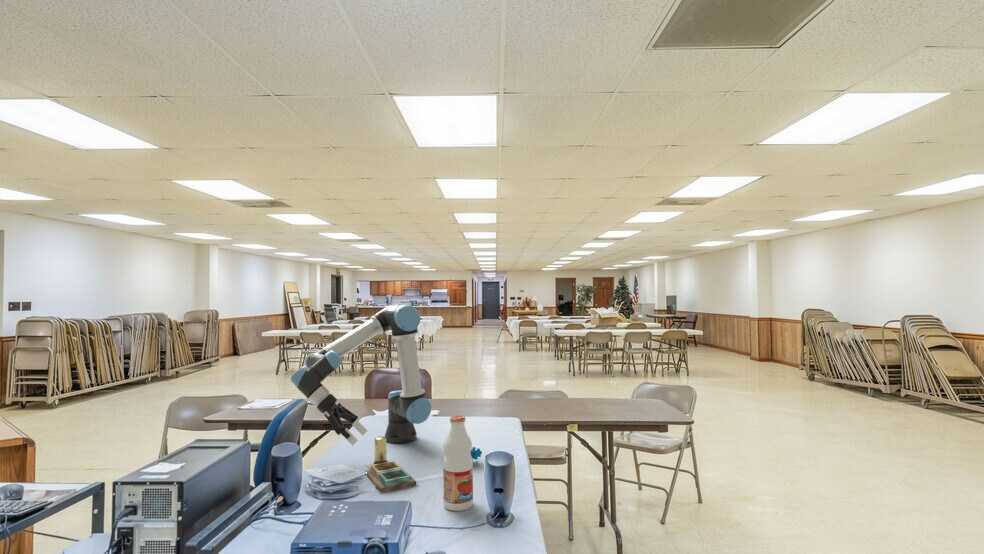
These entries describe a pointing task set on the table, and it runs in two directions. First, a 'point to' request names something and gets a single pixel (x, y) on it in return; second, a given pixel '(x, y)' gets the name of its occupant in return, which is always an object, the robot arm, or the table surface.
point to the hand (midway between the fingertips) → (360, 438)
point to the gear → (475, 453)
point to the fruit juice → (458, 467)
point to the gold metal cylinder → (380, 450)
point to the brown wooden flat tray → (389, 476)
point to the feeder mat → (371, 464)
